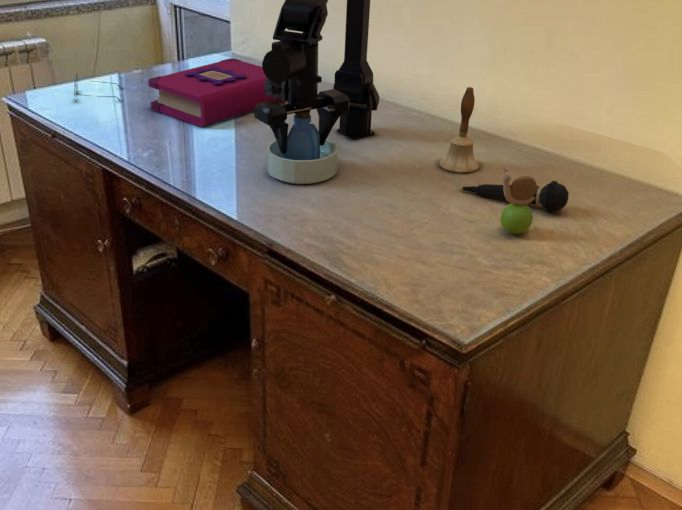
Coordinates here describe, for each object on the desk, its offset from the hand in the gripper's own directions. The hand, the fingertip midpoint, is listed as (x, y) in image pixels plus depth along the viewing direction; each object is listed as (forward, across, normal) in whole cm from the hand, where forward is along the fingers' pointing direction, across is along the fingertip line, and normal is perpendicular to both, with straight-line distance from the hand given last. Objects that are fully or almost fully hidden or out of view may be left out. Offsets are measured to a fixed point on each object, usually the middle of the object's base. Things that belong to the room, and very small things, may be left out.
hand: (302, 149), depth 155 cm
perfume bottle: (+4, 0, 0) cm, 4 cm away
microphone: (+5, -26, +34) cm, 43 cm away
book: (+5, -5, -46) cm, 47 cm away
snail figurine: (+5, -16, +43) cm, 46 cm away
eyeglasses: (+5, +18, -69) cm, 72 cm away
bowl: (+5, 0, 0) cm, 5 cm away
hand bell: (+5, -29, +14) cm, 33 cm away
